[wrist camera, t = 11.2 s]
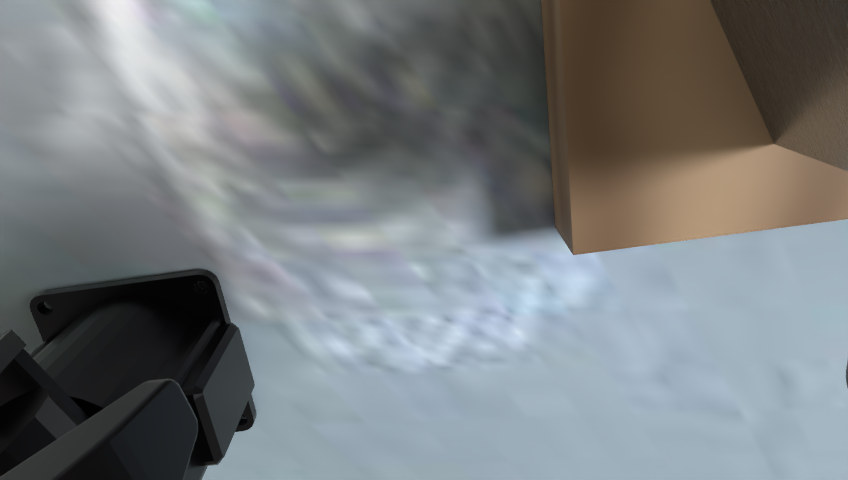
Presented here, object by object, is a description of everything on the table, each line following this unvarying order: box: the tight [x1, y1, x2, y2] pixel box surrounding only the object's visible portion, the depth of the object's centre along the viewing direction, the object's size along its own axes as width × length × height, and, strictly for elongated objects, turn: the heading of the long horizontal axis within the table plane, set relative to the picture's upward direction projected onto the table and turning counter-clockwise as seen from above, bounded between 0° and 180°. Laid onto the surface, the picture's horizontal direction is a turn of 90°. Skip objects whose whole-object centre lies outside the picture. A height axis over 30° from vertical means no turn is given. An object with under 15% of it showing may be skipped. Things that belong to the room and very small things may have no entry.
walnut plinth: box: [541, 0, 848, 255], centre depth 17 cm, size 14×12×2 cm
